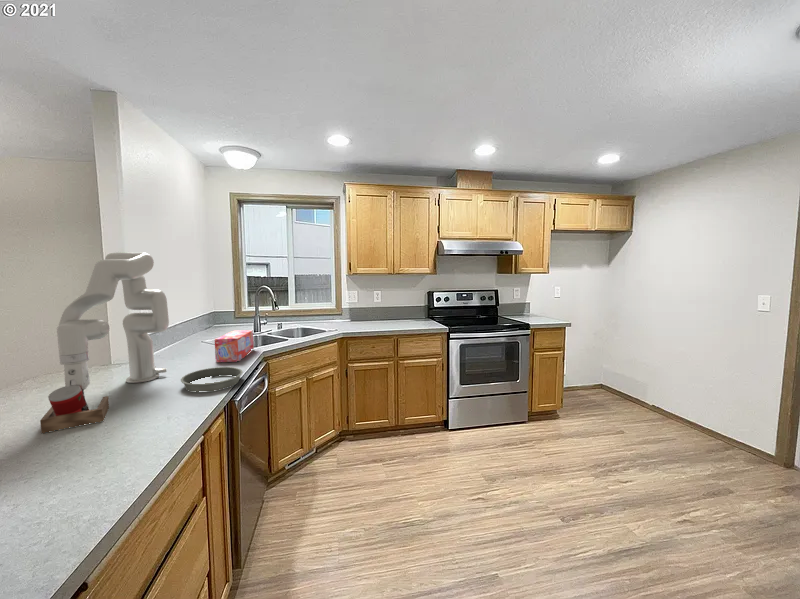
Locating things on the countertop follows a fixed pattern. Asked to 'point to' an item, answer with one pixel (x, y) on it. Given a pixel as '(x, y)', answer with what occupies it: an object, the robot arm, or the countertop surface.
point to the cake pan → (208, 373)
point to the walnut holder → (74, 417)
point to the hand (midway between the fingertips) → (79, 407)
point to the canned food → (68, 400)
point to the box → (233, 346)
